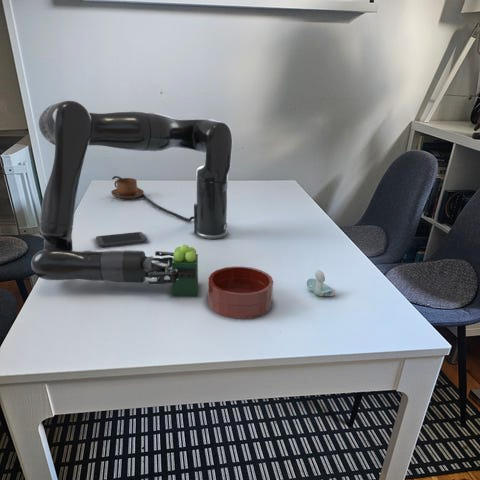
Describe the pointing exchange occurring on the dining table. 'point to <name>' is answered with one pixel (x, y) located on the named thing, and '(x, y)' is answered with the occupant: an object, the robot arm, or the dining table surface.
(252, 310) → the pot
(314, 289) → the pacifier
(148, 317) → the dining table surface
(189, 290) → the grapes
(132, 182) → the cup and saucer
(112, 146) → the robot arm
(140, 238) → the cell phone
